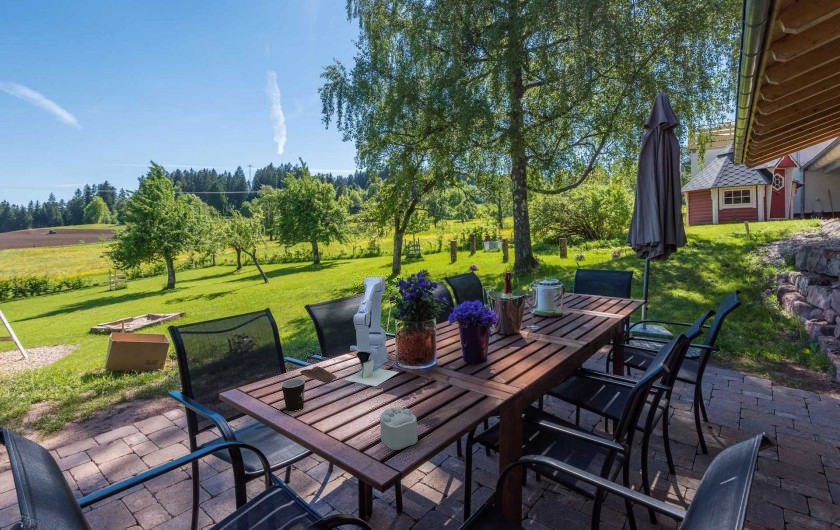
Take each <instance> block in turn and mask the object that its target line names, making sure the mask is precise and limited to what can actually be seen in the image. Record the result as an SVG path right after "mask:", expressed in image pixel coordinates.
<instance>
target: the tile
mask: <svg viewBox="0 0 840 530" xmlns="http://www.w3.org/2000/svg"><path fill="white" fill-rule="evenodd" d="M373 362H374V360H372V359H370V358H369V359H368V361H366V362H364V363H363V368H362V367H361V368H362V370H361V371H362V378H364V379H365V378H366V377H368V376H370V375H372V373H373Z"/></svg>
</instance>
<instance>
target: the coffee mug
mask: <svg viewBox="0 0 840 530" xmlns="http://www.w3.org/2000/svg"><path fill="white" fill-rule="evenodd" d="M305 384H306V381H305V380H304V379H302V378H291V379H288V380H285V381H283V382H282V383H281V390H282V394H283V400H284V404H285V409H286V411H287V412H289V411H295V410H299V409H301V408H302V409H303V408H304V407H303V406H304V404H305V387H306V385H305ZM302 409H301V410H302ZM299 411H300V410H299ZM295 412H296V411H295Z"/></svg>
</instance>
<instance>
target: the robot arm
mask: <svg viewBox="0 0 840 530" xmlns="http://www.w3.org/2000/svg"><path fill="white" fill-rule="evenodd" d="M363 286H364V287H363V288H364V291H365V292H364V295H363V299H362V300H361V301H360V303H359V306H358V309H357V312H356V313H355V314H354V315H353V325H354V329H355V334H356V345H350V346H349V351H351V352H353V351H354V352H356V353H355V354H356V357H357V358H358V361H359V362H360V364H361V368H363V363H364V362H366V361H368V360H370V359H372V360H374V362H373V365H378V366H381V365H383V364H385V363H387V362H389V361H390V359H388V347H387V345H386V344H387V336H386V335H387V333H386V330H385V329H384V327H382V326H381V319H382V297H383V295H384V294H385V292H386V279H385V277H383V276H379V277H378V276H377V277H376V276H375V277H368V276H367V277H365V278H364V279H363ZM369 325H370V327H369Z"/></svg>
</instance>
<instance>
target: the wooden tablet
mask: <svg viewBox="0 0 840 530" xmlns="http://www.w3.org/2000/svg"><path fill="white" fill-rule="evenodd" d="M300 373H301V374H303V376H305V377H306V378H310V379H312V380H313V381H314V380H316V381H319V382H321V383H326V384H327V383H331V382H333V380H335V379H337V376H336V375H335V374H333V373H332V372H330V371H328V370H327V369H325V368H323V367H320V366H318V365H316V366H314V367H312V368H305V369H302V370H300Z"/></svg>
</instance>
